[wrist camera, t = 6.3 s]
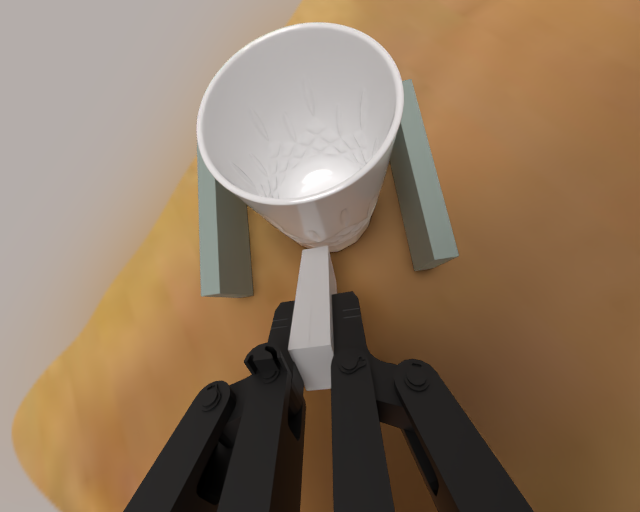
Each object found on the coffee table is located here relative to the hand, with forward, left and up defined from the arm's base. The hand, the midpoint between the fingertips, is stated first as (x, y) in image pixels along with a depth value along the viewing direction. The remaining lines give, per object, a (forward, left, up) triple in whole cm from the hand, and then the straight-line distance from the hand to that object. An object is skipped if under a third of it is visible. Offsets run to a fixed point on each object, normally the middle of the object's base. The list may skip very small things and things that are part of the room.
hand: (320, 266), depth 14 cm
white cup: (-1, -5, -4) cm, 6 cm away
